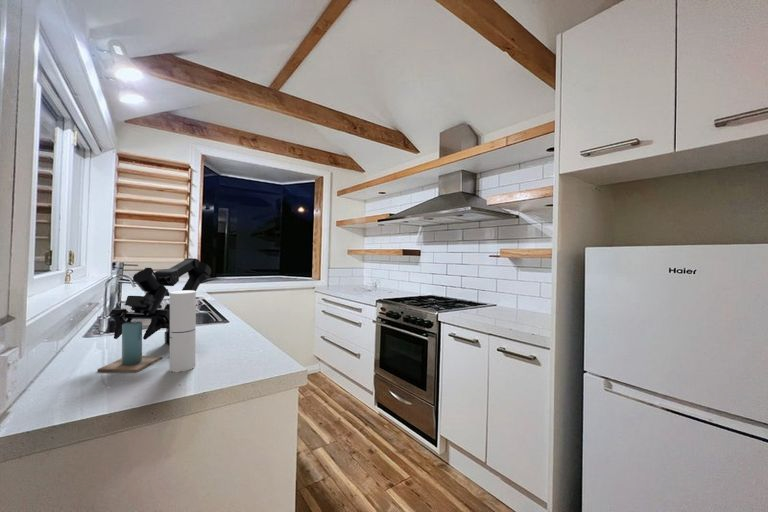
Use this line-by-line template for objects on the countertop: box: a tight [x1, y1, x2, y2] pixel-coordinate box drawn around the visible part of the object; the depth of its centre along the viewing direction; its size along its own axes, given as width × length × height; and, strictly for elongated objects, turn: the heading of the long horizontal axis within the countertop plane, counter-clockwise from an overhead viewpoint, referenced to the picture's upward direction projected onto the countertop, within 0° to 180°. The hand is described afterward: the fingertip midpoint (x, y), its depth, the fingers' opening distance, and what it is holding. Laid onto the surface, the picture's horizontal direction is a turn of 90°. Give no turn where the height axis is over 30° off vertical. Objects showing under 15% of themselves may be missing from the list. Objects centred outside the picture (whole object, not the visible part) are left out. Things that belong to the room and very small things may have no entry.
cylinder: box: [121, 321, 143, 365], centre depth 105 cm, size 5×5×13 cm
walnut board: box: [97, 355, 163, 373], centre depth 105 cm, size 12×12×1 cm
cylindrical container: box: [169, 290, 197, 373], centre depth 103 cm, size 7×7×25 cm
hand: (129, 338), depth 104 cm, fingers open, 9 cm apart
